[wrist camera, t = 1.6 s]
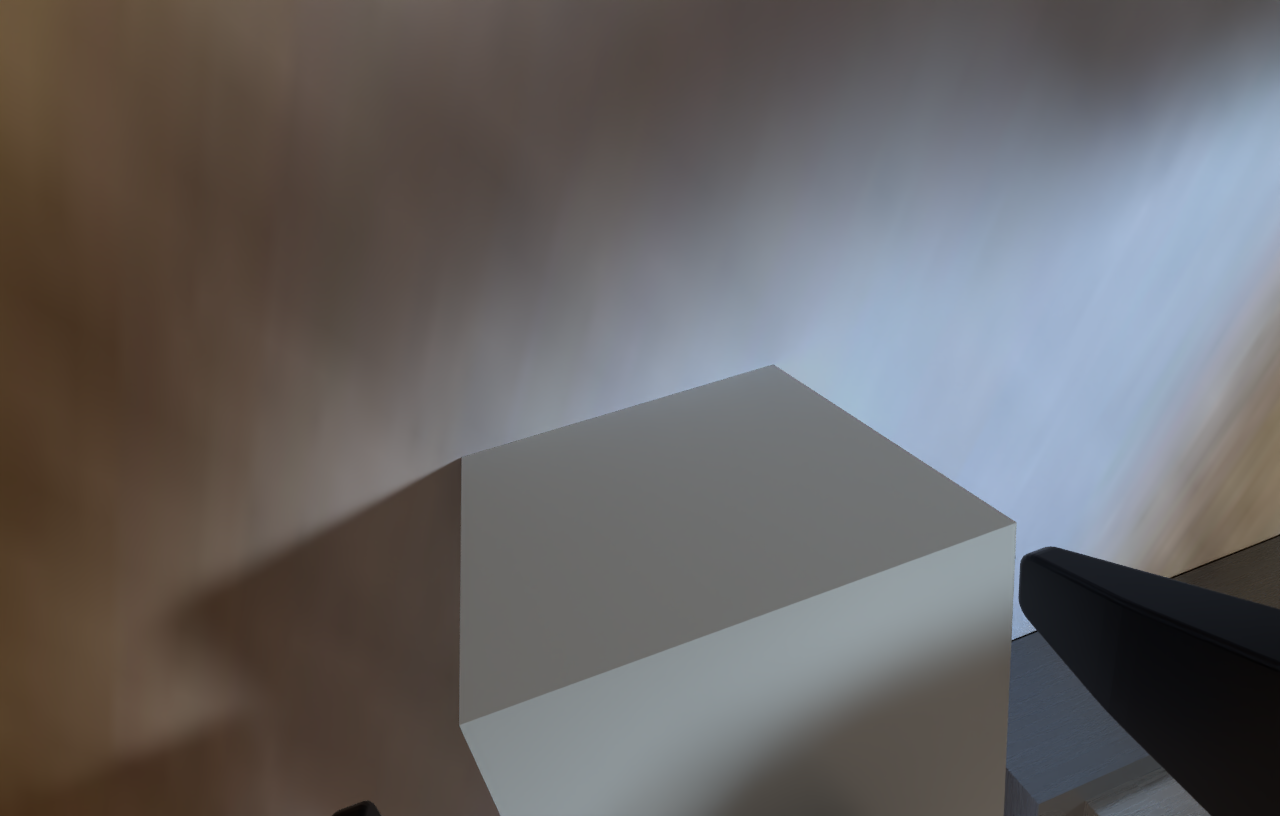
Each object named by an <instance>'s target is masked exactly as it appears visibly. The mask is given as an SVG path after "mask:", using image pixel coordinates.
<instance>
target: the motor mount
mask: <svg viewBox="0 0 1280 816" xmlns="http://www.w3.org/2000/svg"><path fill="white" fill-rule="evenodd" d="M1172 579H1174V580H1177V581H1181V582H1184V583H1188V584H1192V585H1195V586H1199V587H1203V588H1206V589H1210V590H1213V591H1217V592H1221V593H1224V594H1228V595H1232V596H1235V597H1239V598H1242V599H1246V600H1250V601H1253V602H1257V603H1261V604H1264V605H1268V606H1271V607H1275V608H1279V609H1280V536H1279V537H1276V538H1274V539H1271V540H1269V541H1266V542H1264V543H1261V544H1259V545H1256V546H1253V547H1251V548H1248V549H1246V550H1243V551H1241V552H1238V553H1236V554H1233V555H1231V556H1228V557H1226V558H1223V559H1221V560H1218V561H1215V562H1213V563H1210V564H1208V565H1205V566H1203V567H1200V568H1198V569H1195V570H1193V571H1190V572H1188V573H1185V574H1183V575H1180V576H1177V577H1175V578H1172ZM1004 816H1211V815H1210V814H1209V813H1208V812H1207V811H1206V810H1205V809H1204V808H1203V807H1201V806H1200V805H1199V804H1198V803H1197V802H1196V801H1195V800H1194V799H1193V798H1192V797H1191V796H1190V795H1189V794H1188V793H1187V792H1186V791H1185V790H1184V789H1183V788H1182V787H1181V786H1180V785H1179V784H1178V783H1177V782H1176V781H1175V780H1174V779H1173V778H1172V777H1171V776H1170V775H1169V774H1168V773H1167V772H1166V771H1165V770H1164V769H1163V768H1162V767H1161V766H1160V765H1159V764H1158V763H1157V762H1156V761H1155V760H1154V759H1153V758H1152V757H1151V756H1150V755H1149V754H1148V753H1147V752H1146V751H1145V750H1144V749H1143V748H1142V747H1141V746H1140V745H1139V744H1138V743H1137V742H1136V741H1135V740H1134V739H1133V738H1132V737H1131V736H1130V735H1129V734H1128V733H1127V732H1126V731H1125V730H1124V729H1123V728H1122V727H1121V726H1120V725H1119V724H1118V723H1117V722H1116V721H1115V720H1114V719H1113V718H1112V717H1111V716H1110V715H1109V713H1108V712H1107V711H1106V710H1105V709H1104V708H1103V707H1102V706H1101V705H1100V703H1099V702H1098V701H1097V700H1096V699H1095V698H1094V697H1093V696H1092V694H1091V693H1090V692H1089V691H1088V690H1087V689H1086V687H1085V686H1084V685H1083V684H1082V683H1081V681H1080V680H1079V679H1078V678H1077V677H1076V676H1075V674H1074V673H1073V672H1072V671H1071V670H1070V669H1069V667H1068V666H1067V665H1066V664H1065V663H1064V661H1063V660H1062V659H1061V658H1060V657H1059V656H1058V654H1057V653H1056V652H1055V651H1054V650H1053V649H1052V647H1051V646H1050V645H1049V644H1048V643H1047V641H1046V640H1045V639H1044V638H1043V637H1042V636H1041V634H1040V633H1039V632H1036V633H1033V634H1031V635H1028V636H1026V637H1023V638H1021V639H1018V640H1015V641H1013V642H1011V660H1010V682H1009V705H1008V728H1007V750H1006V773H1005V796H1004Z"/></svg>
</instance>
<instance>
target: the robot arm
mask: <svg viewBox="0 0 1280 816" xmlns="http://www.w3.org/2000/svg"><path fill="white" fill-rule="evenodd" d="M1019 604H1020V607H1021V609H1022V611H1023V613H1024V615H1025V616H1026V618H1027V619H1028V620H1029V621H1030V623H1031V624H1032V625H1033V626H1034V627H1035V629H1036V630H1037V631H1038V632H1039V633H1040V634H1041V636H1042V637H1043V638H1044V639H1045V640H1046V641H1047V643H1048V644H1049V645H1050V646H1051V647H1052V649H1053V650H1054V651H1055V652H1056V653H1057V654H1058V656H1059V657H1060V658H1061V659H1062V660H1063V661H1064V663H1065V664H1066V665H1067V666H1068V667H1069V669H1070V670H1071V671H1072V672H1073V673H1074V674H1075V676H1076V677H1077V678H1078V679H1079V680H1080V681H1081V683H1082V684H1083V685H1084V686H1085V687H1086V689H1087V690H1088V691H1089V692H1090V693H1091V694H1092V696H1093V697H1094V698H1095V699H1096V700H1097V701H1098V702H1099V703H1100V705H1101V706H1102V707H1103V708H1104V709H1105V710H1106V711H1107V712H1108V713H1109V715H1110V716H1111V717H1112V718H1113V719H1114V720H1115V721H1116V722H1117V723H1118V724H1119V725H1120V726H1121V727H1122V728H1123V729H1124V730H1125V731H1126V732H1127V733H1128V734H1129V735H1130V736H1131V737H1132V738H1133V739H1134V740H1135V741H1136V742H1137V743H1138V744H1139V745H1140V746H1141V747H1142V748H1143V749H1144V750H1145V751H1146V752H1147V753H1148V754H1149V755H1150V756H1151V757H1152V758H1153V759H1154V760H1155V761H1156V762H1157V763H1158V764H1159V765H1160V766H1161V767H1162V768H1163V769H1164V770H1165V771H1166V772H1167V773H1168V774H1169V775H1170V776H1171V777H1172V778H1173V779H1174V780H1175V781H1176V782H1177V783H1178V784H1179V785H1180V786H1181V787H1182V788H1183V789H1184V790H1185V791H1186V792H1187V793H1188V794H1189V795H1190V796H1191V797H1192V798H1193V799H1194V800H1195V801H1196V802H1197V803H1198V804H1199V805H1200V806H1201V807H1203V808H1204V809H1205V810H1206V811H1207V812H1208V813H1209V814H1210V815H1211V816H1280V609H1279V608H1275V607H1271V606H1268V605H1264V604H1261V603H1257V602H1253V601H1250V600H1246V599H1242V598H1239V597H1235V596H1232V595H1228V594H1224V593H1221V592H1217V591H1213V590H1210V589H1206V588H1203V587H1199V586H1195V585H1192V584H1188V583H1184V582H1181V581H1177V580H1174V579H1170V578H1166V577H1163V576H1159V575H1155V574H1152V573H1148V572H1145V571H1141V570H1137V569H1134V568H1130V567H1126V566H1123V565H1119V564H1115V563H1112V562H1108V561H1105V560H1101V559H1097V558H1094V557H1090V556H1086V555H1083V554H1079V553H1076V552H1072V551H1068V550H1065V549H1061V548H1057V547H1045V548H1042V549H1039V550H1036V551H1034V552H1031V553H1028V554H1026V555H1025V556H1023V558H1022V559H1021V563H1020V578H1019ZM332 816H381V814H380V813H379V811H378V809H377V807H376V806H375V805H374V804H373V803H372V802H371V801H363V802H360V803H357V804H354V805H352V806H349V807H346V808H344V809H341V810H339V811H337V812H336V813H334V814H333V815H332Z"/></svg>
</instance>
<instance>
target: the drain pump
mask: <svg viewBox="0 0 1280 816" xmlns="http://www.w3.org/2000/svg"><path fill="white" fill-rule="evenodd" d="M1015 546H1016V522H1015V521H1013V520H1012V519H1010V518H1009V517H1007V516H1006V515H1004V514H1002V513H1001V512H999V511H998V510H996V509H995V508H993V507H992V506H990V505H989V504H987V503H986V502H984V501H983V500H981V499H979V498H978V497H976V496H975V495H973V494H972V493H970V492H969V491H967V490H966V489H964V488H963V487H961V486H959V485H958V484H956V483H955V482H953V481H952V480H950V479H949V478H947V477H946V476H944V475H943V474H941V473H939V472H938V471H936V470H935V469H933V468H932V467H930V466H929V465H927V464H926V463H924V462H923V461H921V460H919V459H918V458H916V457H915V456H913V455H912V454H910V453H909V452H907V451H906V450H904V449H903V448H901V447H899V446H898V445H896V444H895V443H893V442H892V441H890V440H889V439H887V438H886V437H884V436H883V435H881V434H879V433H878V432H876V431H875V430H873V429H872V428H870V427H869V426H867V425H866V424H864V423H863V422H861V421H860V420H858V419H856V418H855V417H853V416H852V415H850V414H849V413H847V412H846V411H844V410H843V409H841V408H840V407H838V406H836V405H835V404H833V403H832V402H830V401H829V400H827V399H826V398H824V397H823V396H821V395H820V394H818V393H816V392H815V391H813V390H812V389H810V388H809V387H807V386H806V385H804V384H803V383H801V382H800V381H798V380H796V379H795V378H793V377H792V376H790V375H789V374H787V373H786V372H784V371H783V370H781V369H780V368H778V367H776V366H775V365H770V366H766V367H763V368H760V369H756V370H753V371H750V372H746V373H743V374H740V375H736V376H733V377H729V378H726V379H723V380H719V381H716V382H713V383H709V384H706V385H703V386H699V387H696V388H692V389H689V390H686V391H682V392H679V393H676V394H672V395H669V396H666V397H662V398H659V399H656V400H652V401H649V402H645V403H642V404H639V405H635V406H632V407H629V408H625V409H622V410H619V411H615V412H612V413H609V414H605V415H602V416H598V417H595V418H592V419H588V420H585V421H582V422H578V423H575V424H572V425H568V426H565V427H561V428H558V429H555V430H551V431H548V432H545V433H541V434H538V435H535V436H531V437H528V438H525V439H521V440H518V441H514V442H511V443H508V444H504V445H501V446H498V447H494V448H491V449H488V450H484V451H481V452H478V453H474V454H471V455H467V456H464V457H462V467H461V571H460V675H459V726H460V729H461V731H462V733H463V735H464V737H465V739H466V742H467V744H468V746H469V748H470V750H471V753H472V755H473V757H474V759H475V761H476V763H477V766H478V768H479V770H480V772H481V774H482V777H483V779H484V781H485V783H486V785H487V787H488V790H489V792H490V794H491V796H492V798H493V801H494V803H495V805H496V807H497V809H498V812H499V814H500V816H1004V796H1005V773H1006V750H1007V728H1008V705H1009V682H1010V660H1011V637H1012V614H1013V592H1014V569H1015Z"/></svg>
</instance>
